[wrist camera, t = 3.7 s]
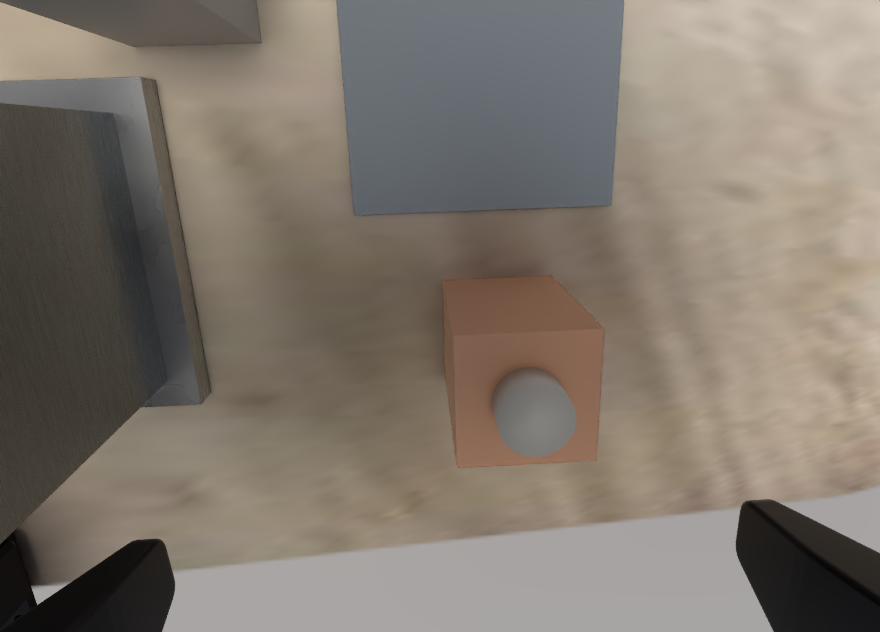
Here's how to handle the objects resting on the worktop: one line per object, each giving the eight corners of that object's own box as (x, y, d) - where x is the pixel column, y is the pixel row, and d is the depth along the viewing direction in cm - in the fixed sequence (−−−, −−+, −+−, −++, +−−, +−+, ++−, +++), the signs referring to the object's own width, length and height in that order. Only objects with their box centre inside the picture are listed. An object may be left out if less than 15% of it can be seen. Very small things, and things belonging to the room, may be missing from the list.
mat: (354, 214, 19) (354, 215, 19) (330, -90, 16) (329, -92, 16) (609, 204, 19) (611, 205, 19) (628, -96, 17) (630, -99, 16)
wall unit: (77, 398, 21) (-184, 598, 12) (-5, 85, 17) (-461, 25, 8) (210, 392, 21) (55, 584, 12) (154, 80, 18) (-121, 16, 8)
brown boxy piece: (445, 380, 21) (460, 494, 14) (442, 279, 20) (456, 352, 13) (548, 375, 21) (610, 485, 15) (550, 275, 20) (621, 344, 13)
